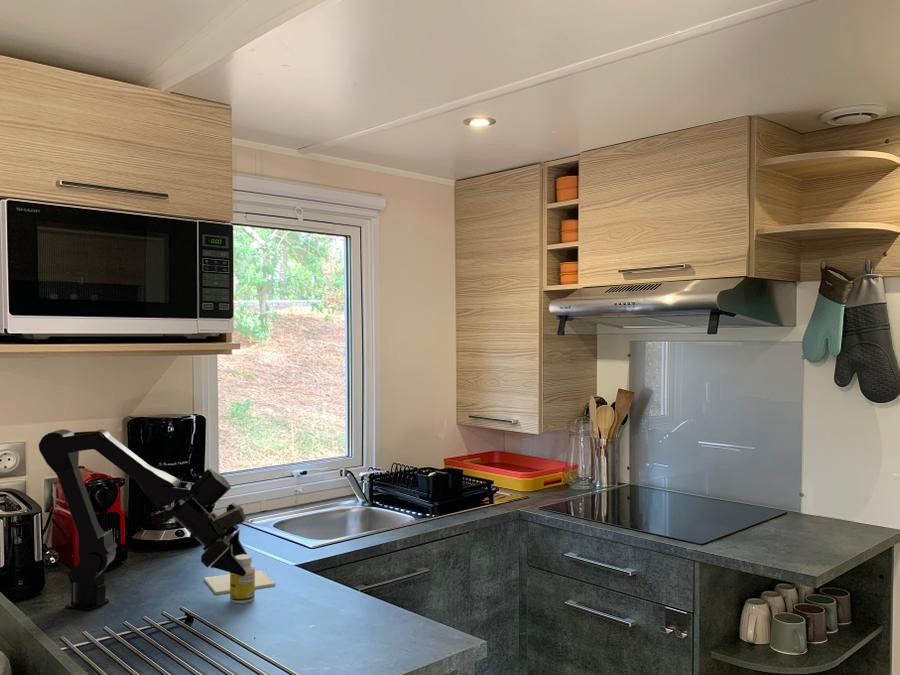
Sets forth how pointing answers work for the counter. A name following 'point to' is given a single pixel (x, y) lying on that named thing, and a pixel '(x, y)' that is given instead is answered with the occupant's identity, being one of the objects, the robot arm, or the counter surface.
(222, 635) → the counter surface
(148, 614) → the counter surface
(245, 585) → the supplement bottle
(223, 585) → the rubber mat
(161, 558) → the counter surface
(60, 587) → the counter surface
